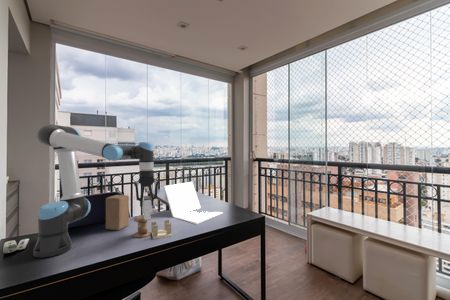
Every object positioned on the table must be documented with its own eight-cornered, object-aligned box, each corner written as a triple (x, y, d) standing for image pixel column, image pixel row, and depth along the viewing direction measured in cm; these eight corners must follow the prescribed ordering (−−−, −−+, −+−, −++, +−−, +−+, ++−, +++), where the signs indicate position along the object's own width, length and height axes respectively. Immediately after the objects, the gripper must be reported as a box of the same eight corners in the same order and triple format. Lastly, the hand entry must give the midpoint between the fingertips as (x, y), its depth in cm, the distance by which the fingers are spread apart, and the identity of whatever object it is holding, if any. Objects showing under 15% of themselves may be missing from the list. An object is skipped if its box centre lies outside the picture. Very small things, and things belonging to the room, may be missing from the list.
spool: (134, 239, 120) (134, 221, 120) (134, 233, 128) (134, 216, 128) (151, 236, 123) (151, 218, 123) (150, 231, 131) (150, 214, 132)
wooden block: (119, 230, 132) (119, 198, 132) (104, 229, 134) (105, 197, 134) (129, 225, 142) (129, 195, 142) (116, 224, 144) (116, 194, 144)
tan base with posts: (171, 236, 123) (171, 224, 123) (153, 239, 119) (153, 226, 119) (168, 230, 132) (168, 219, 133) (151, 233, 128) (151, 221, 128)
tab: (144, 219, 114) (144, 199, 115) (143, 214, 123) (143, 196, 123) (150, 218, 116) (150, 198, 116) (149, 214, 124) (149, 195, 124)
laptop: (196, 225, 142) (196, 190, 143) (163, 216, 163) (163, 185, 164) (223, 214, 166) (223, 185, 166) (192, 207, 187) (192, 181, 188)
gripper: (130, 171, 113) (130, 215, 113) (162, 169, 119) (162, 212, 119) (130, 170, 120) (131, 212, 120) (160, 168, 126) (161, 208, 126)
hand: (146, 212), depth 120 cm, fingers closed on tab, 3 cm apart
